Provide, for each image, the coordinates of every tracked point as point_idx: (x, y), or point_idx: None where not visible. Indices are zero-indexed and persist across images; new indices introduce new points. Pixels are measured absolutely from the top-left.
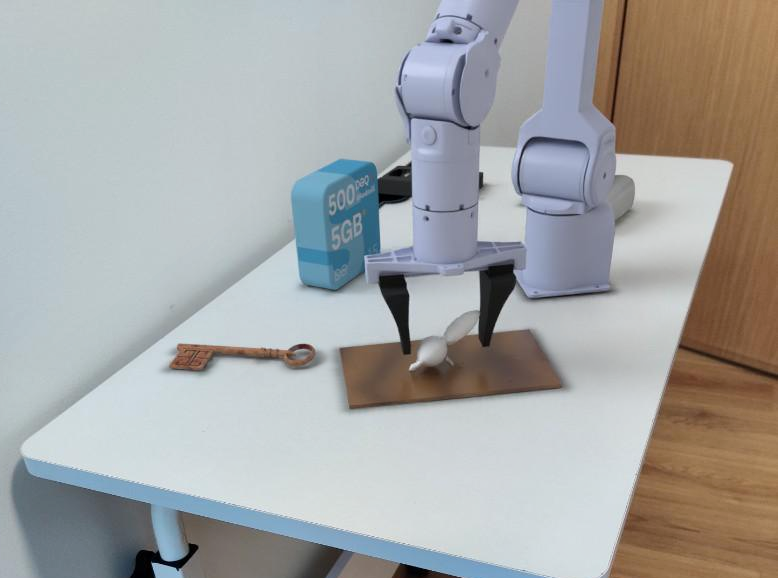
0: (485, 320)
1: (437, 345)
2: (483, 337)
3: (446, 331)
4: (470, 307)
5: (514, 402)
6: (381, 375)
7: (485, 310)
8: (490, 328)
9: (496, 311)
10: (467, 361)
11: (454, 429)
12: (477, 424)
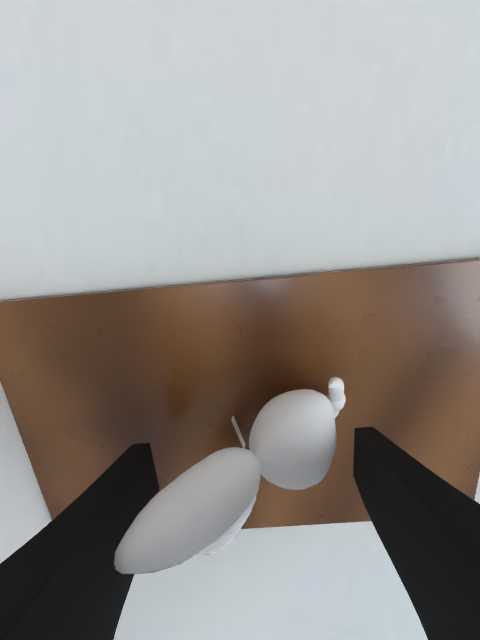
0: (106, 519)
1: (286, 430)
2: (137, 464)
3: (256, 483)
4: (178, 624)
5: (95, 244)
6: (406, 391)
7: (89, 570)
8: (100, 485)
9: (31, 552)
10: (198, 431)
11: (259, 113)
12: (195, 135)
